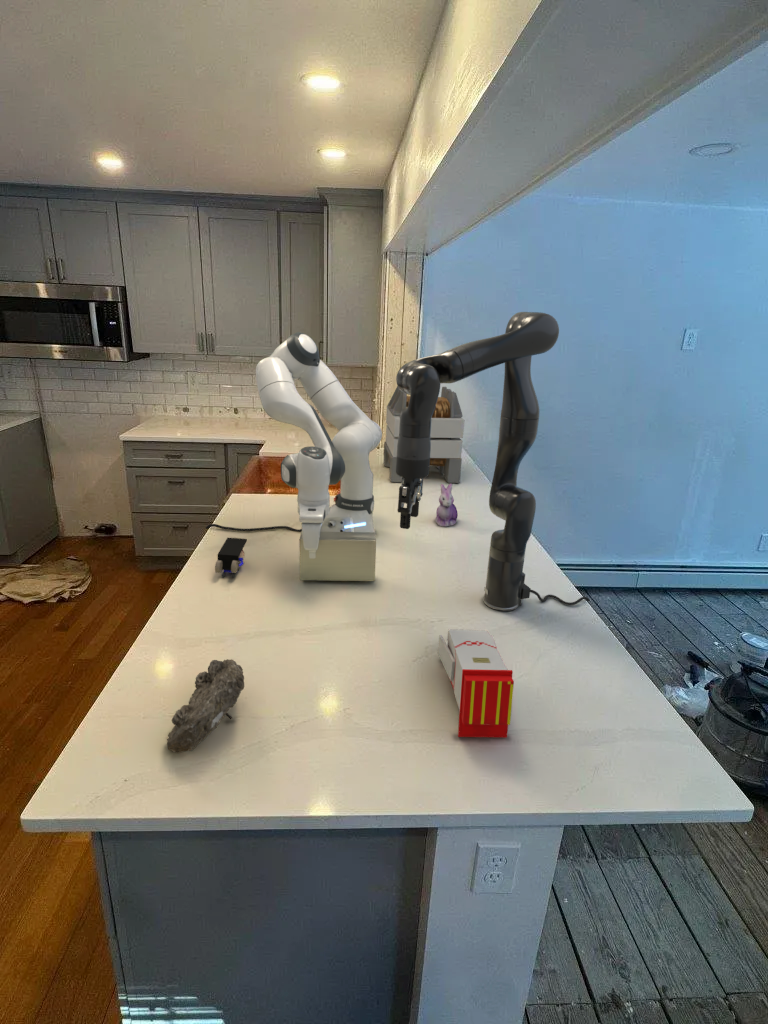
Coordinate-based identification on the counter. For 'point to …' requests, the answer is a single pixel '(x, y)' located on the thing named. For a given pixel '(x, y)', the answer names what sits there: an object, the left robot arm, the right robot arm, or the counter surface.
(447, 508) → the figurine
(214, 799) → the counter surface
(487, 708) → the toy
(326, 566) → the box
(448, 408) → the transformer
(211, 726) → the fossil
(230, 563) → the toy car
